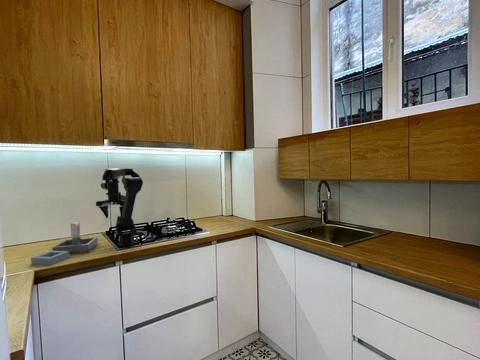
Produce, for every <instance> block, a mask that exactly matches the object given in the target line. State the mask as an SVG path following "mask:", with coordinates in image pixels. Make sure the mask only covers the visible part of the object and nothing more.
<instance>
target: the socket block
mask: <svg viewBox="0 0 480 360" xmlns="http://www.w3.org/2000/svg"><path fill="white" fill-rule="evenodd" d="M70 256H71V255H70V254H69V251H52V250H50V251H46V252H43V253H41V254H38V255H35V256H32V257H31V258H30V262H31V265H32V266H33V265H34V266H53V265H55V264H58V263H60V262H62V261H64V260H67V259H69V258H71V257H70Z"/></svg>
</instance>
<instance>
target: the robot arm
mask: <svg viewBox="0 0 480 360" xmlns="http://www.w3.org/2000/svg"><path fill="white" fill-rule="evenodd" d="M128 176H130V177H128ZM121 177H122V178H121ZM119 178H121V183H122V185H123V189H124V190H125V195H123V194H121V191H120V190H119V189H120V188H119V187H120V186H119V183H120V180H119ZM101 179H102V181H101V182H100V187H101V189H102V190H105V191H107V192H106V193H105V195H106V196H107V199H100V200H96V202H95V206H96V207H97V208H99V209H100V211H101V212H102V213H103V215H104V217H105V218H106V219H108V218H109V207H110V206H111V205H112V206H113V205H114V206H115V205H118V206H119V207H118V208H119V215H118V216H117V217H116V222H115V231H116V236H117V237H119V246H120V245H122V246H124V247H123V248H131V247H133V246H135V245H134V243H135V234H137V231H138V230H137V227H136V225H135V223H134V222H135V221H134V219H133V217H132V216H133V213H134V208H135V203H136V197H137V194H139V193H140V192H141V191H142V187H143V184H144V182H143V179H142V177H141V176H140V174H138V173H137V172H135V171H134V169H133V168H131V167H123V168H117V167H116V168H115V167H114V168H105V169H104V171H103V174H102V176H101Z"/></svg>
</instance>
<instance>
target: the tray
mask: <svg viewBox="0 0 480 360" xmlns="http://www.w3.org/2000/svg"><path fill="white" fill-rule="evenodd" d="M98 239H99V238H98V236H97V237H85V238H83V237H82V238H81V245H72V240H71V239H64V240H62V241H61V242H59V243H58V244H56V245H54V246H52V248H51V251H69V255H76V254H87V253H90V252H91V251H93V250H94V248H96V247H97V246H98V245H99V240H98Z"/></svg>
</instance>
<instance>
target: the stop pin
mask: <svg viewBox="0 0 480 360" xmlns="http://www.w3.org/2000/svg"><path fill="white" fill-rule="evenodd" d="M69 225H70V236H71V240H72V245H81V239H82V237H81V224H80V222H79V221H75V222H74V221H73V222H70V223H69Z"/></svg>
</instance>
